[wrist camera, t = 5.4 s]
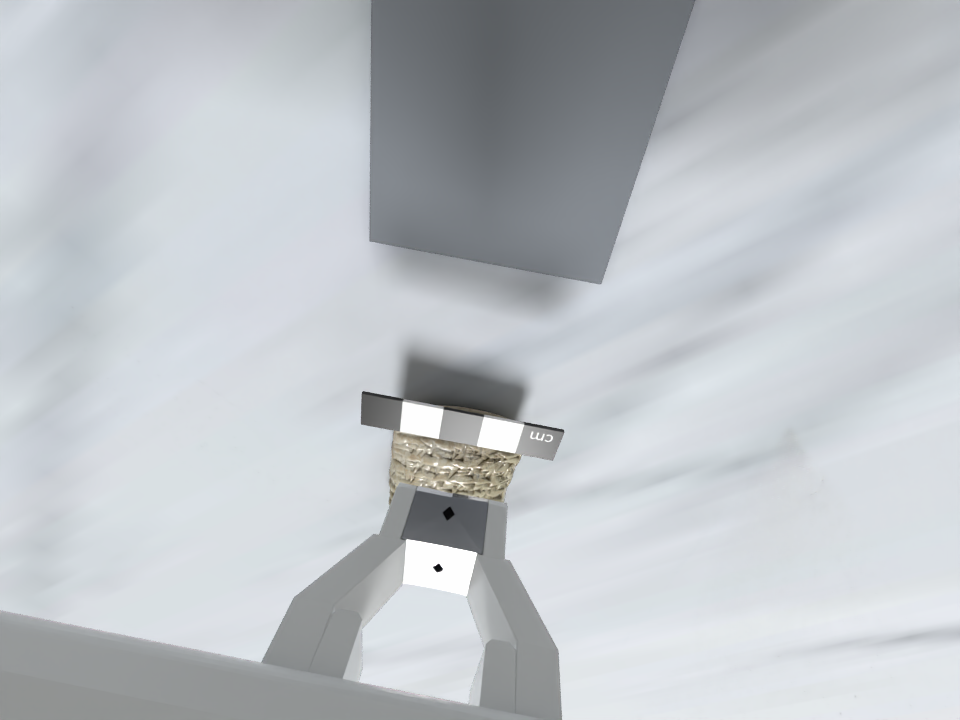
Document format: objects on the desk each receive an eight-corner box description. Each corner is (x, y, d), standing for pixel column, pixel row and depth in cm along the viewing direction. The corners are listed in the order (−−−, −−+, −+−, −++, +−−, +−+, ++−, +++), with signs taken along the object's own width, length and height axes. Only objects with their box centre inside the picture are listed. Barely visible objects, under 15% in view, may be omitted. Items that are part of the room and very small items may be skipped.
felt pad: (727, -112, 10) (735, -121, 10) (599, 280, 16) (600, 284, 15) (378, -173, 10) (373, -183, 10) (372, 238, 16) (369, 241, 15)
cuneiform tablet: (564, 432, 14) (495, 602, 20) (554, 362, 18) (498, 525, 24) (361, 393, 14) (357, 578, 20) (395, 331, 17) (382, 503, 24)
